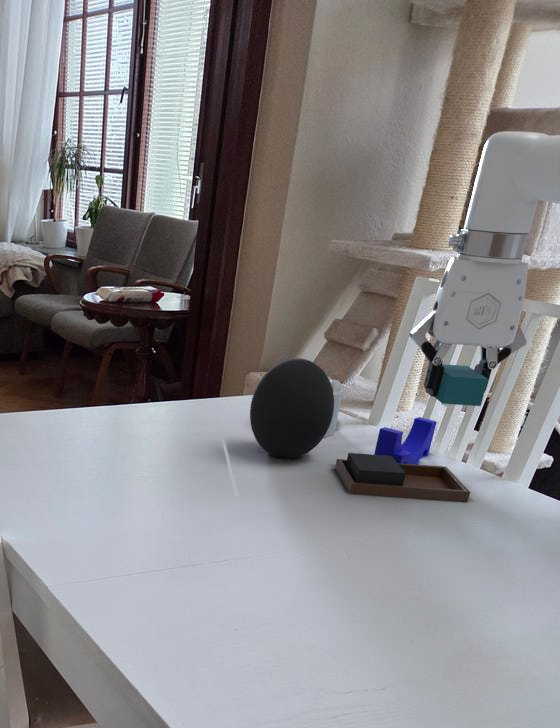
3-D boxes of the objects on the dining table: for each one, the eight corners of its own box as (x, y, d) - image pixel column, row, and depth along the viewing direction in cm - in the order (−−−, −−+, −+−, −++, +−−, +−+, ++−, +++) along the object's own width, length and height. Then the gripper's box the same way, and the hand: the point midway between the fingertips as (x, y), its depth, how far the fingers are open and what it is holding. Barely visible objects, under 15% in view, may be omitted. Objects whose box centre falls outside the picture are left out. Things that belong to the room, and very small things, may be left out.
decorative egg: (317, 448, 138) (335, 353, 131) (329, 473, 128) (349, 370, 120) (241, 443, 139) (254, 347, 132) (246, 466, 129) (261, 364, 121)
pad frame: (442, 479, 128) (446, 466, 127) (466, 505, 118) (470, 492, 117) (334, 471, 129) (336, 458, 128) (348, 497, 119) (351, 483, 118)
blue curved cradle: (397, 475, 129) (407, 435, 126) (371, 467, 131) (379, 428, 128) (436, 461, 136) (445, 423, 133) (410, 453, 139) (419, 417, 136)
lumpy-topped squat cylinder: (336, 423, 153) (346, 373, 149) (332, 442, 142) (342, 389, 138) (278, 415, 156) (286, 367, 151) (269, 434, 145) (277, 382, 140)
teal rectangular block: (461, 391, 118) (468, 365, 116) (480, 406, 111) (488, 379, 109) (424, 389, 118) (431, 363, 117) (442, 403, 111) (449, 376, 110)
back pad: (387, 475, 127) (392, 455, 125) (401, 493, 120) (406, 473, 118) (344, 472, 127) (348, 452, 125) (355, 490, 120) (359, 469, 118)
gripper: (430, 246, 103) (395, 398, 112) (574, 255, 102) (527, 407, 111) (414, 240, 109) (381, 385, 118) (549, 249, 109) (506, 393, 118)
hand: (452, 394), depth 114 cm, fingers closed on teal rectangular block, 5 cm apart
